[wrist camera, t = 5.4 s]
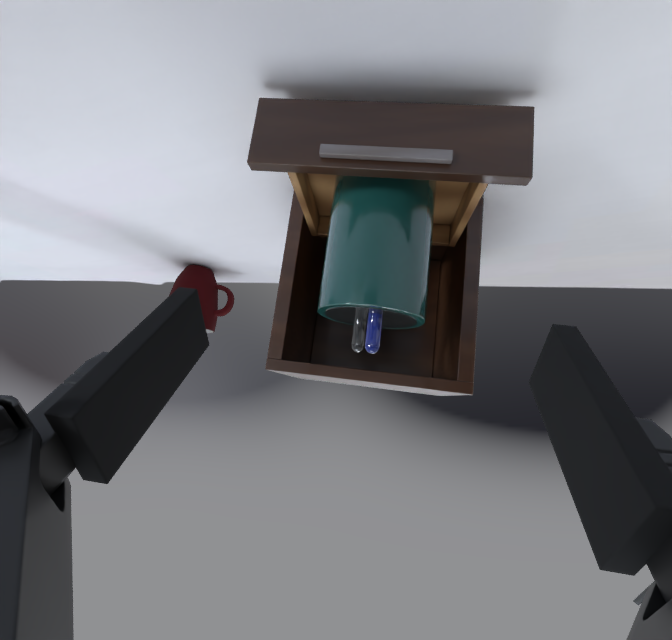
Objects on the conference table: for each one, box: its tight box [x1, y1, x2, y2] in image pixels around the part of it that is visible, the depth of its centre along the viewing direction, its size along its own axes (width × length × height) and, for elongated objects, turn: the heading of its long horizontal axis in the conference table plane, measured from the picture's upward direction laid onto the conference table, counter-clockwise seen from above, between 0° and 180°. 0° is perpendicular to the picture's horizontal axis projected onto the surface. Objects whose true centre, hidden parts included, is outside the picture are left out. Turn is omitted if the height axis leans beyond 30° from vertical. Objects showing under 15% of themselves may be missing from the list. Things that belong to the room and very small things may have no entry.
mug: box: [169, 265, 234, 333], centre depth 60 cm, size 11×8×10 cm
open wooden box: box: [265, 191, 484, 396], centre depth 37 cm, size 14×16×16 cm
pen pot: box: [317, 175, 437, 354], centre depth 25 cm, size 7×7×13 cm
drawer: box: [247, 98, 534, 247], centre depth 27 cm, size 14×15×4 cm
